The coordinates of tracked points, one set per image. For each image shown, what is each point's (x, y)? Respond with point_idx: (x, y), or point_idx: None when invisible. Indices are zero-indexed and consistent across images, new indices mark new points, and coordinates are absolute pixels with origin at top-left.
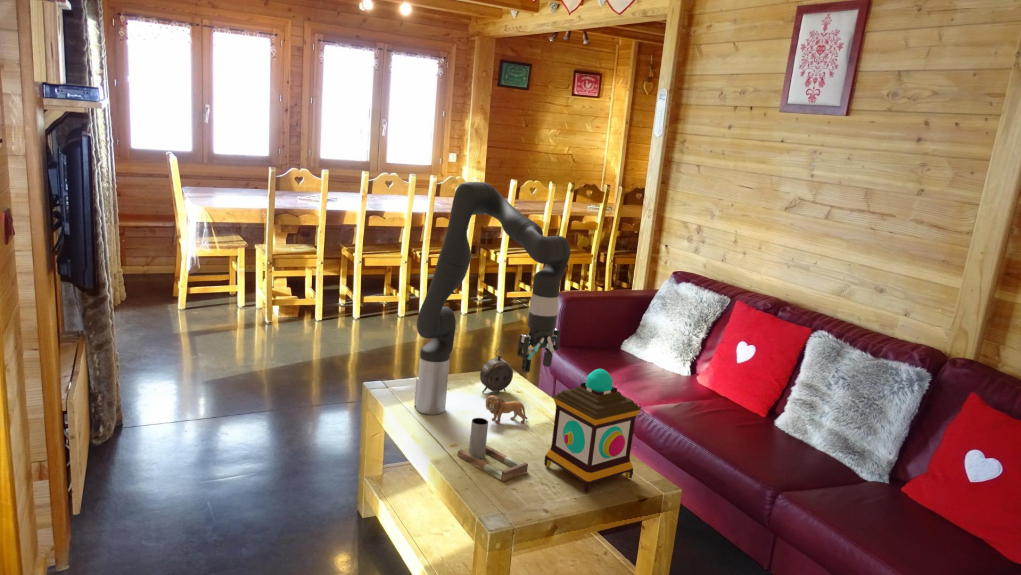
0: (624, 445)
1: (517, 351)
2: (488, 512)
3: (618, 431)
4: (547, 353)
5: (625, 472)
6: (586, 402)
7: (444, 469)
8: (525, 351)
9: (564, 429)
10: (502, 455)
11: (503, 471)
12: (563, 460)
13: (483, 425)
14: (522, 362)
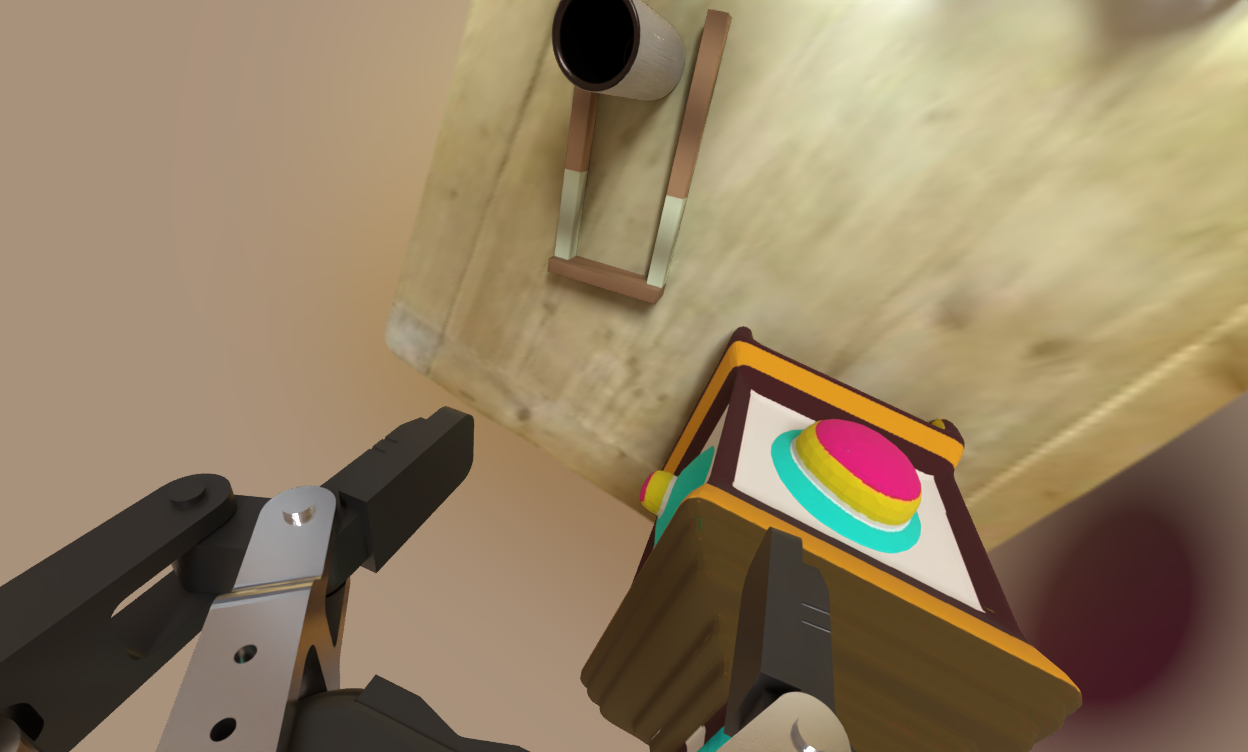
0: None
1: (119, 513)
2: (419, 309)
3: None
4: (738, 705)
5: None
6: (632, 684)
7: (479, 42)
8: (139, 636)
9: (697, 474)
10: (676, 177)
11: (550, 264)
12: (696, 423)
13: (577, 85)
14: (353, 465)
